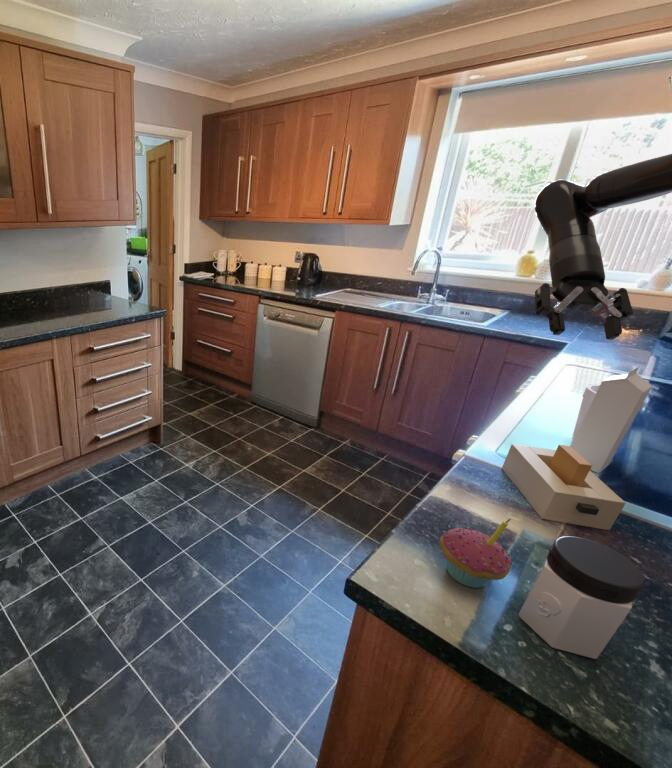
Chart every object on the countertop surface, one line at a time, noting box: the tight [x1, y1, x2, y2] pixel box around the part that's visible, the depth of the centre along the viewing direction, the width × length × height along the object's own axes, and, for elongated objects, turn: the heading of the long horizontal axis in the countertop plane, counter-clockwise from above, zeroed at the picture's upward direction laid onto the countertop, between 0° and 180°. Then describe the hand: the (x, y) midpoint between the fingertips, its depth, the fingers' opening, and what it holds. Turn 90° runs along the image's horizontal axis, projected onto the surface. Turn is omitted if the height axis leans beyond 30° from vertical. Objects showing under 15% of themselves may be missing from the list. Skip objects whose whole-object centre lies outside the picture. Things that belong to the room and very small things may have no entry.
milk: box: [569, 365, 653, 474], centre depth 87 cm, size 6×6×22 cm
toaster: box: [501, 443, 626, 531], centre depth 79 cm, size 17×10×6 cm, turn 165°
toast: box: [548, 444, 592, 487], centre depth 78 cm, size 2×6×9 cm, turn 165°
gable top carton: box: [571, 384, 647, 440], centre depth 96 cm, size 10×9×13 cm
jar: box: [517, 535, 646, 660], centre depth 54 cm, size 9×8×12 cm
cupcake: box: [438, 518, 513, 589], centre depth 61 cm, size 9×8×12 cm
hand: (586, 335), depth 80 cm, fingers open, 8 cm apart
